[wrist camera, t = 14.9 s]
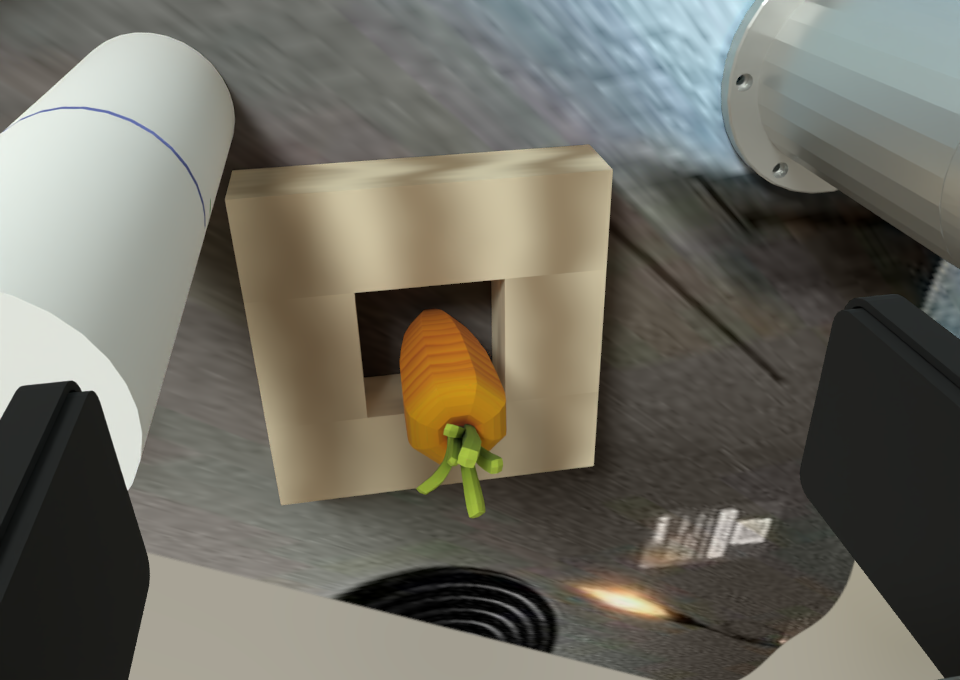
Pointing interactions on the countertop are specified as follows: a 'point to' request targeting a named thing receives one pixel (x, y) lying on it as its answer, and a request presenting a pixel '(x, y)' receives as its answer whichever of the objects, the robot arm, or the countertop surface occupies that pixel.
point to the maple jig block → (417, 263)
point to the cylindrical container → (109, 224)
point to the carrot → (451, 402)
